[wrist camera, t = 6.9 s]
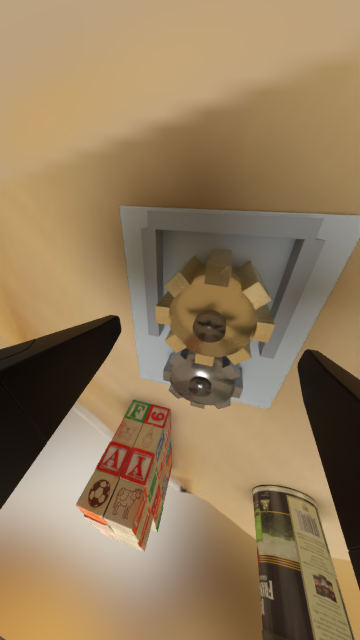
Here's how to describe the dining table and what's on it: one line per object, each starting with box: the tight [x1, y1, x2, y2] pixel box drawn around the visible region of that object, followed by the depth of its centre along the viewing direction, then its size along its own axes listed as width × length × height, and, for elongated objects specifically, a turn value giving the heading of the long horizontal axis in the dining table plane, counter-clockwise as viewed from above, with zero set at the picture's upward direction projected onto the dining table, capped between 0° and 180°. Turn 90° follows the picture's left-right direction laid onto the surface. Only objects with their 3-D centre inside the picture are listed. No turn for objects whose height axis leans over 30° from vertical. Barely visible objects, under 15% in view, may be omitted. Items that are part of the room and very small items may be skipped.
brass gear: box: [155, 249, 275, 366], centre depth 12 cm, size 7×7×5 cm
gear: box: [163, 348, 243, 409], centre depth 17 cm, size 7×7×3 cm
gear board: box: [119, 206, 360, 409], centre depth 15 cm, size 15×18×3 cm
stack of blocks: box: [76, 400, 172, 552], centre depth 27 cm, size 21×6×12 cm, turn 0°
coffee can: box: [252, 485, 355, 640], centre depth 26 cm, size 10×10×14 cm
